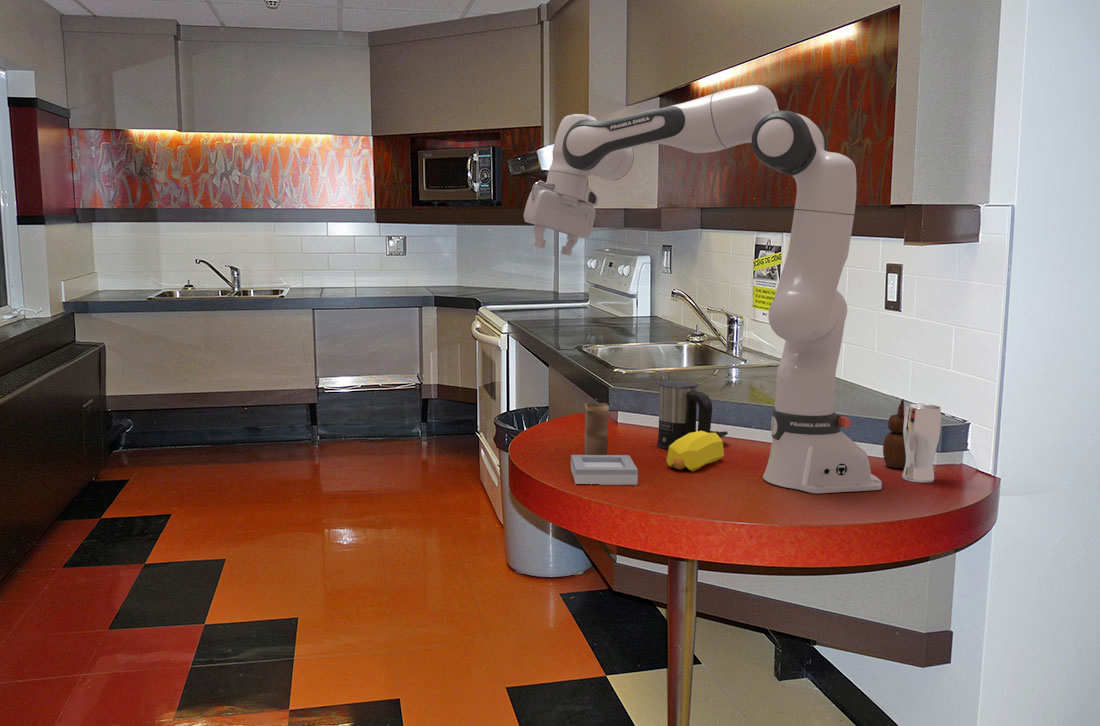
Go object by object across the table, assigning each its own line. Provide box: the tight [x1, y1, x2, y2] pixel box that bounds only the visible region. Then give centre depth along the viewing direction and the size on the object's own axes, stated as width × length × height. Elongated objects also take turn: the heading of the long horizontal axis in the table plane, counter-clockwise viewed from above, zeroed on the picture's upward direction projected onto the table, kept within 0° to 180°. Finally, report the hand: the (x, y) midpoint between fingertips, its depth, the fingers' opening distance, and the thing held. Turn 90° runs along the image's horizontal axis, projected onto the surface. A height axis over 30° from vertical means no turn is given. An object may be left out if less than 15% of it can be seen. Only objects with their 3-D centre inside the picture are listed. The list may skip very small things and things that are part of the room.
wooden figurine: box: [882, 398, 905, 469], centre depth 195 cm, size 7×6×15 cm
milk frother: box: [656, 380, 729, 450], centre depth 212 cm, size 14×16×15 cm
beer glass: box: [901, 402, 942, 484], centre depth 185 cm, size 7×7×15 cm
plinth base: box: [570, 454, 639, 486], centre depth 183 cm, size 12×12×3 cm
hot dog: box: [665, 430, 725, 472], centre depth 195 cm, size 18×7×8 cm
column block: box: [583, 402, 610, 455], centre depth 196 cm, size 5×5×12 cm
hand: (552, 251), depth 202 cm, fingers open, 8 cm apart
